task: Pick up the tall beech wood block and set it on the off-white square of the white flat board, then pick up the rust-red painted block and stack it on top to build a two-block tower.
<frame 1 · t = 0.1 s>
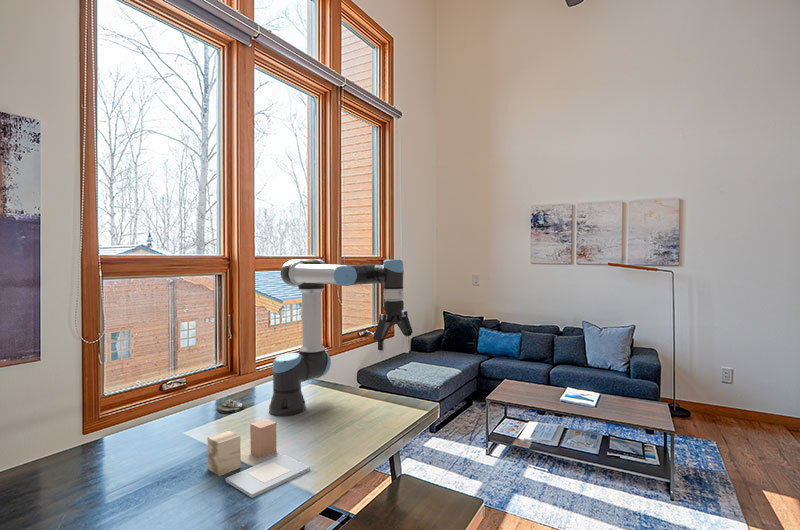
hand: (394, 355, 167), 28 cm above the table, tool pointing down, fingers open, 13 cm apart
terracotta block: (263, 452, 148), on the table
beech block: (224, 468, 137), on the table
grey lumpy mound: (230, 410, 190), on the table
white flat board: (268, 475, 132), on the table
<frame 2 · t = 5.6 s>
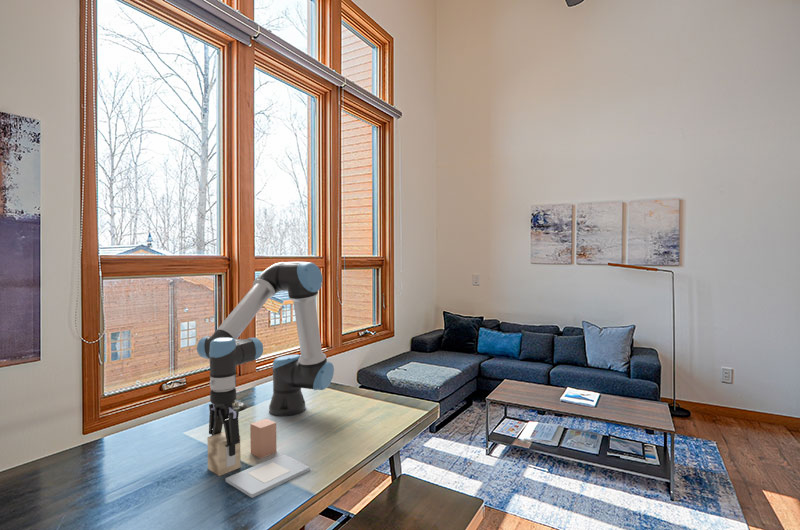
hand: (224, 461, 137), 2 cm above the table, tool pointing down, fingers closed on beech block, 7 cm apart
beech block: (224, 468, 137), on the table, touching gripper
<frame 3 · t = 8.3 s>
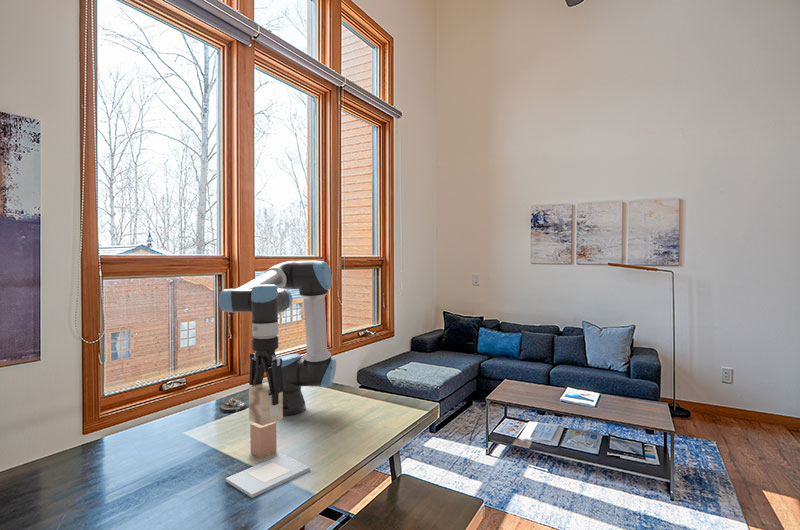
hand: (266, 412, 132), 19 cm above the table, tool pointing down, fingers closed on beech block, 7 cm apart
beech block: (266, 419, 132), point 17 cm above the table, touching gripper
when the fingers open (5 cm above the table, at t = 11.5 s): beech block drops 1 cm, resting on white flat board.
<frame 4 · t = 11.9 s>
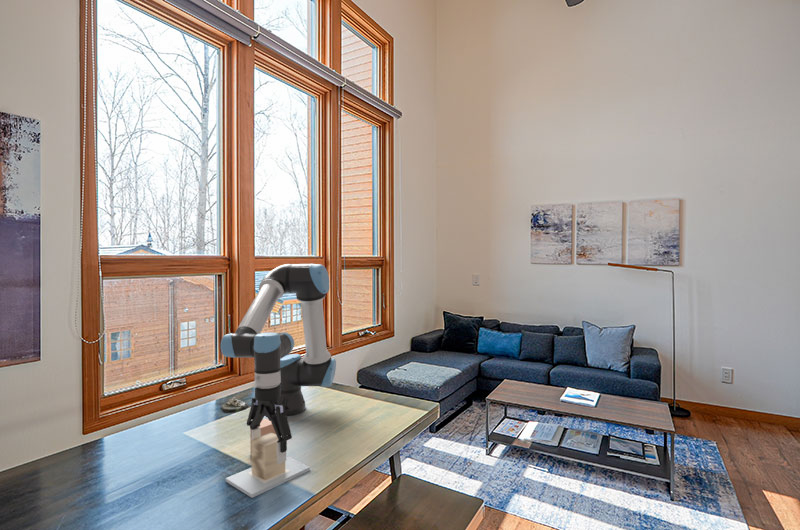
hand: (268, 455, 132), 6 cm above the table, tool pointing down, fingers open, 12 cm apart
beech block: (268, 472, 132), point 1 cm above the table, touching white flat board
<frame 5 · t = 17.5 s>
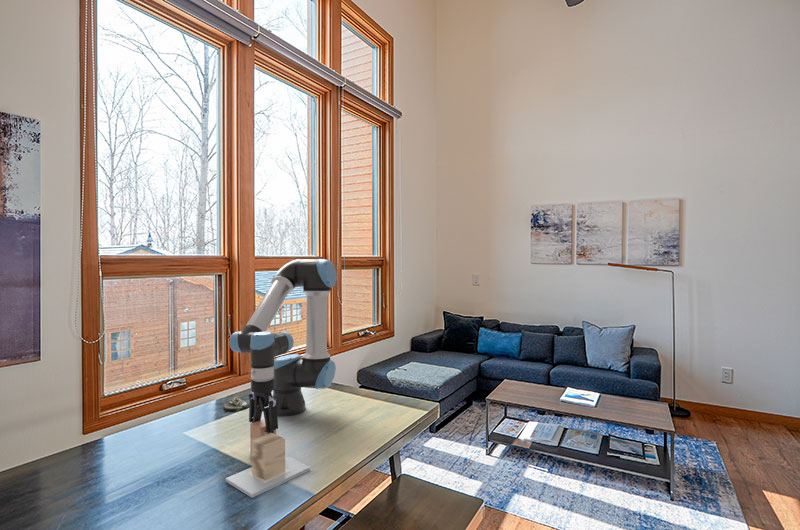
hand: (263, 446, 148), 2 cm above the table, tool pointing down, fingers closed on terracotta block, 6 cm apart
terracotta block: (263, 452, 148), on the table, touching gripper
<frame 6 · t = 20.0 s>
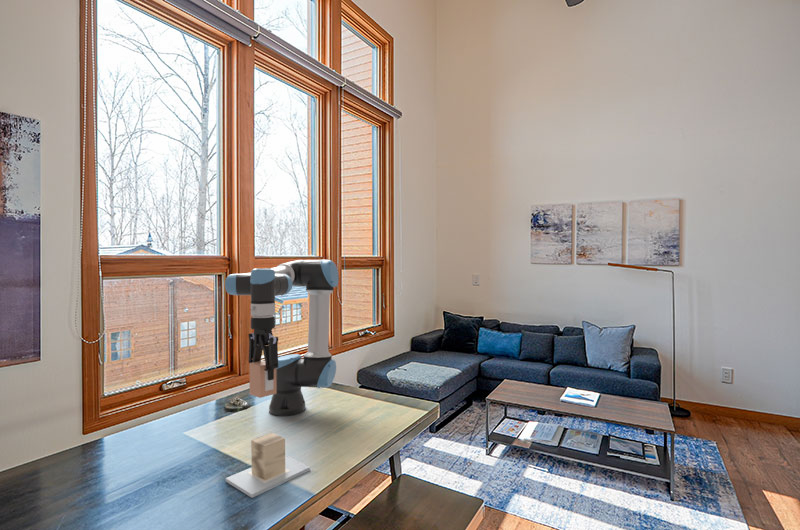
hand: (263, 387, 141), 24 cm above the table, tool pointing down, fingers closed on terracotta block, 6 cm apart
terracotta block: (263, 393, 141), point 22 cm above the table, touching gripper
when the fingers open (14 cm above the table, at t = 22.6 s): terracotta block drops 1 cm, resting on beech block.
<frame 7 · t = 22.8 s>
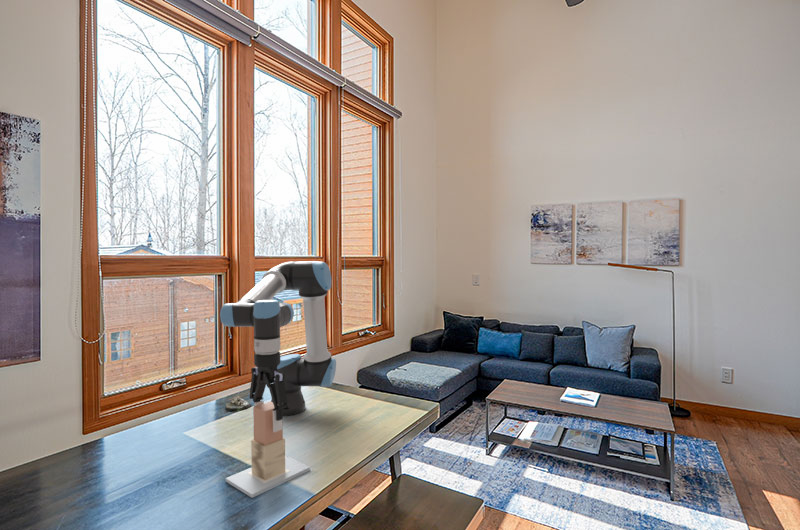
hand: (268, 426, 132), 15 cm above the table, tool pointing down, fingers open, 9 cm apart
terracotta block: (268, 439, 132), point 11 cm above the table, touching beech block
beech block: (268, 472, 132), point 1 cm above the table, touching white flat board, terracotta block
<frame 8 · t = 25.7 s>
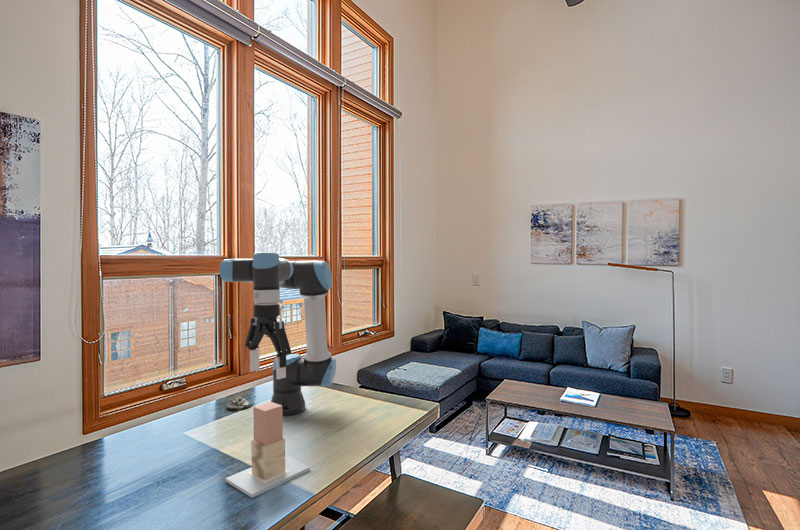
hand: (267, 374, 131), 31 cm above the table, tool pointing down, fingers open, 13 cm apart
at the end: beech block 0.1 cm from the target spot, point 1.1 cm above the table; terracotta block 0.1 cm off-centre on the beech block, point 10.0 cm above the beech block's base; terracotta block tilted 0° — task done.
